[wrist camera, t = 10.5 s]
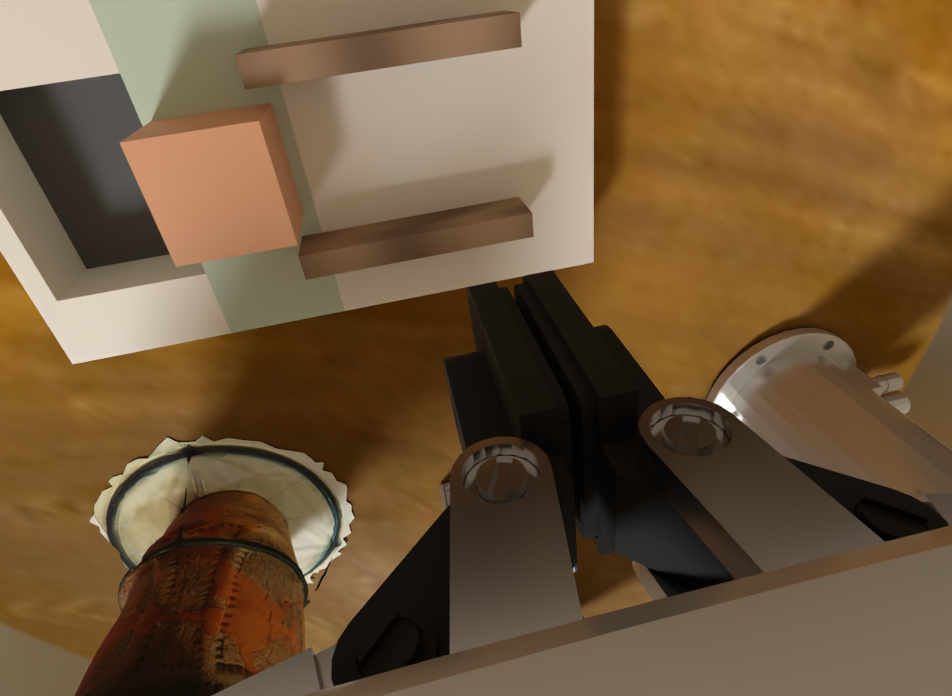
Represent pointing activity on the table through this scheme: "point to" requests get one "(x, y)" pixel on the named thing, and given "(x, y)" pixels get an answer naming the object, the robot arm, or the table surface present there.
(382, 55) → the channel walls
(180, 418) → the table surface
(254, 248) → the block
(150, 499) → the decorative vase
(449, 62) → the deck
